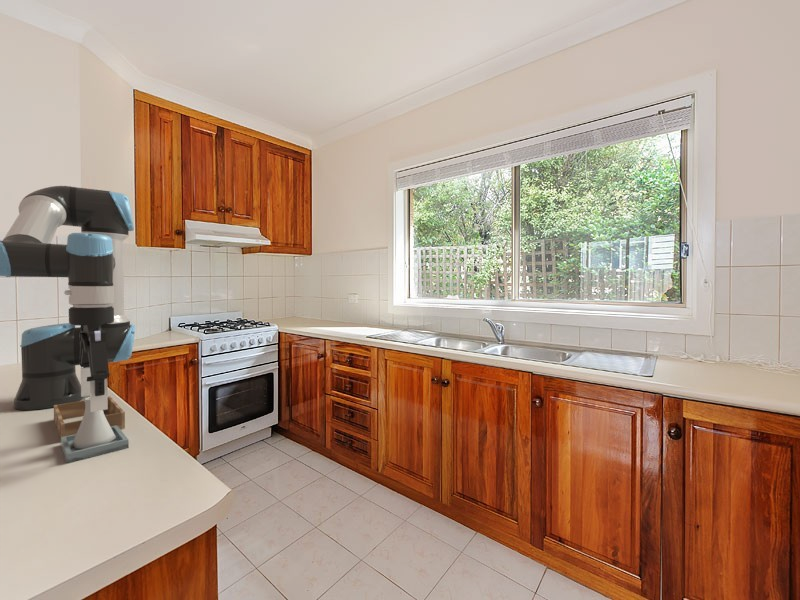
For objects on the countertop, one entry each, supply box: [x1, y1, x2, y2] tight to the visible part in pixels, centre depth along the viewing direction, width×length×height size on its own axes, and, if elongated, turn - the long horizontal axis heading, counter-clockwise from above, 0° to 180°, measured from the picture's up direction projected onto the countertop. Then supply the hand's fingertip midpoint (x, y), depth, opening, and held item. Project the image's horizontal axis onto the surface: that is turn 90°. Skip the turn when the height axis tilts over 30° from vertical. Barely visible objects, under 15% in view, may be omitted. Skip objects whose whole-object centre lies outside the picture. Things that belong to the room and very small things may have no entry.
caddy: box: [53, 395, 126, 440], centre depth 93 cm, size 19×12×4 cm, turn 47°
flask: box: [71, 396, 116, 449], centre depth 80 cm, size 7×7×10 cm
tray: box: [60, 425, 129, 464], centre depth 81 cm, size 12×10×2 cm
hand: (93, 402), depth 81 cm, fingers open, 13 cm apart
